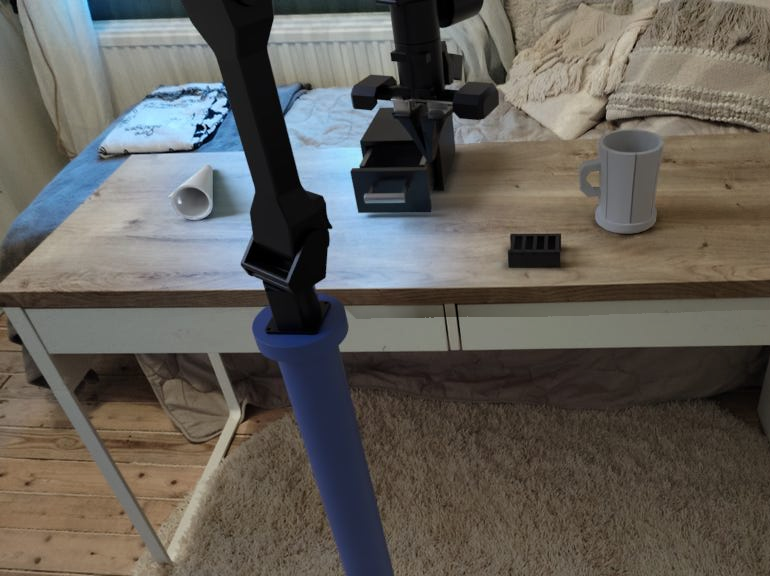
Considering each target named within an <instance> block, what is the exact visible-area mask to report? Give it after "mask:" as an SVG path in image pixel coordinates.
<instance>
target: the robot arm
mask: <svg viewBox="0 0 770 576" xmlns="http://www.w3.org/2000/svg"><path fill="white" fill-rule="evenodd" d="M180 2H181V3H182V6H183V8H184V10H185V13H186V15H187V17H188V19H189V21H190V23H191V24H192V26H193V27H194V28H195V30H196V31H197V32H198V33H199V35H200V36H201V37H202V39H203V40H204V41H205V43H206V44H207V46H208V47H209V48H210V49H211V51H212V53H213V54H214V56H215V58H216V62H217V66H218V69H219V73H220V75H221V78H222V83H223V85H224V89H225V93H226V95H227V99H228V103H229V105H230V109H231V112H232V116H233V119H234V123H235V127H236V129H237V133H238V136H239V140H240V144H241V146H242V149H243V153H244V156H245V160H246V164H247V167H248V171H249V175H250V177H251V180H252V184H253V187H254V194H253V198H252V200H251V201H252V202H251V206H250V208H249V217H250V218H249V219H250V225H251V232H252V233H251V236H250V239H249V241H248V244H247V246H246V249H245V251H244V253H243V256H242V258H241V261H240V267H241V268H242V269H243V270H244V271H245V273H246V274H247V275H248V276H250V277H254V278H255V279H258V280H260V281H262V285H263V289H264V293H265V295H266V299H267V303H268V305H269V306H270V309H271V312H272V315H273V316H272V318H271V319H270V321H269V323H268V325H267V326H266V328H265V332H266V334H276V335H316V334H317V333H318V332H319V330H320V328H321V325H322V323H323V321H324V319H325V317H326V315H327V313H328V310H329V308H330V306H331V304H330V301H319V299H318V295H317V293H318V292H317V287H316V285H317V284H318V283H320V282H322V281H323V280H324V279H326V278H327V269H328V267H327V266H328V254H329V253H328V252H329V247H330V242H331V237H330V232H329V230H332V229H333V225H332V224H331V222H330V220H329V217H328V212H327V202H326V201H325V198H324V196H323V195H322V194H319V193H315V192H312V191H310V190H306V189H305V188H304V186H303V185H302V182H301V180H300V176H299V171H298V166H297V163H296V160H295V159H296V158H295V155H294V151H293V147H292V144H291V139H290V135H289V130H288V128H287V123H286V119H285V114H284V111H283V107H282V103H281V99H280V95H279V90H278V87H277V83H276V79H275V74H274V71H273V66H272V63H271V58H270V54H269V47H268V45H269V41H270V37H271V31H272V29H273V24H274V19H275V12H274V1H273V0H180ZM484 2H485V0H374V3H375V4H376V5H381V6H389V13H390V21H391V28H392V30H391V31H392V38H393V45H394V49H393V50H392V51H390V53H389V55H390V61H391V62H393V63H396V66H397V74H398V81H397V80H396V78H395V77H394V76H393V75H384V74H383V75H382V74H369V75H367V76H366V77H364V78H363V79H362V80H359V81H358V82H357V83H355V84H354V85H353V86H352V88H351V91H350V101H351V105H352V108H353V109H354V110H359V111H361V110H362V111H373V110H374V109H375V108H376V107H377V105H379V104H378V103H379V102H378V101H387V102H389V101H390V102H392V103H393V104H392V105H393V107H394V112H393V113H392V118H394V119H398V120H399V122H400V123H401V124H402V125H403V127H404V128H405V129H406V131H407V132H408V133H409V134H410V136H411V137H412V139H413V140H414V142H415V143H416V145H417V146H418V148H419V149H420V151H421V153H422V154H423V156H424V157H425V159H426V160H427V161H433V160H434V159H435V156H436V152H437V148H438V144H439V140H440V136H441V132H442V128H443V126H444V123H445V120H446V119H447V118H448V117H449V116H450V115H451V114H452V115H453V114H454V115H456V117H457V118H458V119H460V120H461V119H462V120H471V121H472V120H473V121H482V120H485V119H486V118H487V117H488V116H489V115H490V114H491V113H492V112H493V111H494V110H495V109H496V108H497V107H498V106H499V105H500V94H499V93H500V92H499V90H498V88H497V87H496V85H495V84H494V83H493V82H484V81H483V82H482V81H481V82H480V81H467V82H466V83H465V84H464V85H462V86H461V87H460V88H459V89H449V88H446V86H451V85H452V84H454V81H461V82H462V80H463V68H464V67H463V66H464V55H463V54H462V55H461V54H458V53H452V52H448V45H447V43H446V42H447V41H446V40H442V37H441V36H442V35H441V29H446V28H449V27H452V26H454V25H457V24H459V23H461V22H464V21H467V20H468V19H471V18H473V17H474V18H475V16H477V15H478V14H479V13H480V12H481V11H482V8H483V5H484ZM398 82H399V83H398Z"/></svg>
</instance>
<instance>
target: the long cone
mask: <svg viewBox="0 0 770 576" xmlns="http://www.w3.org/2000/svg"><path fill="white" fill-rule="evenodd" d="M213 174H214V173H213V166H212V165H210V164H206V165H204V166H203V167H201V168H200V169H199V170H198V171H197V172H196V173H194V174H193V175H192V176H191V177H189V178H188V179H187V180H185V181H184V182H183V183H182V184H180V185H179V186H178V187H177V188H175V189H174V191H173V192H171V193H170V194H169V195H168V200H169V202H170V205H171V207H172V210H173V211H174V213H175V215H176V217H182V218H185V219H187V220H192V221H198V220H203V219H204V218H207V217H208V216H209V214H211V212H212V210H213V207H214V203H213V202H214V198H213V194H214V193H213V191H214V190H213V189H214V187H213V186H214V185H213V182H214V181H213V179H214V178H213V176H214V175H213Z"/></svg>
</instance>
